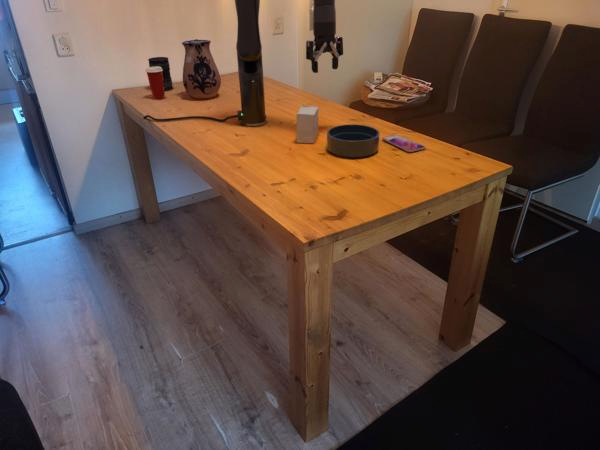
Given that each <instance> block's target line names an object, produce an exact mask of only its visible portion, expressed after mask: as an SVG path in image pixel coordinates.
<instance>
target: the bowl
mask: <svg viewBox="0 0 600 450" xmlns="http://www.w3.org/2000/svg"><path fill="white" fill-rule="evenodd" d="M380 133H381V132H380V131H379V130H378V129H377V128H375V127H373V126H369V125H365V124H353V123H352V124H351V123H350V124H340V125H335V126H332V127H331V128H329V129H328V130H327V131H326V149H327V150H328V151H329V152H330V154H331V153H332V154H333V155H334V156H338V157H340V158H347V159H358V158H359V159H360V158H367V157H370V156H372V155H373V154H375V153H377V152H378V151H379V149H380V148H379V147H380V135H381V134H380Z"/></svg>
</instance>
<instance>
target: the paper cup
mask: <svg viewBox="0 0 600 450" xmlns="http://www.w3.org/2000/svg"><path fill="white" fill-rule="evenodd" d="M162 71H163V70H162V68H161V67H158V66H154V67H149V66H148V67H146V68H145V72H146V76H147V80H148V84H149V88H150V92H151V95H152V100H156V101H158V100H164V99H165V98H166V93H165V92H166V91H164V82H163V73H162Z"/></svg>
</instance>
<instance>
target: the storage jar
mask: <svg viewBox="0 0 600 450" xmlns="http://www.w3.org/2000/svg"><path fill="white" fill-rule="evenodd" d="M147 61H148V67H154V66H158V67H161V68H162V70H163V71H162V73H163V82H164V91H165V92H168V91H173V89H174V87H173V80H172V79H173V78H172V75H171V67H170V61H169V57H168V56H156V57H149V58H147Z"/></svg>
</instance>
